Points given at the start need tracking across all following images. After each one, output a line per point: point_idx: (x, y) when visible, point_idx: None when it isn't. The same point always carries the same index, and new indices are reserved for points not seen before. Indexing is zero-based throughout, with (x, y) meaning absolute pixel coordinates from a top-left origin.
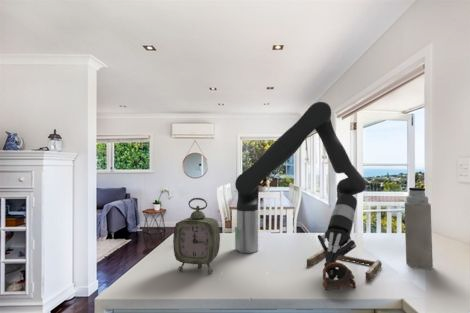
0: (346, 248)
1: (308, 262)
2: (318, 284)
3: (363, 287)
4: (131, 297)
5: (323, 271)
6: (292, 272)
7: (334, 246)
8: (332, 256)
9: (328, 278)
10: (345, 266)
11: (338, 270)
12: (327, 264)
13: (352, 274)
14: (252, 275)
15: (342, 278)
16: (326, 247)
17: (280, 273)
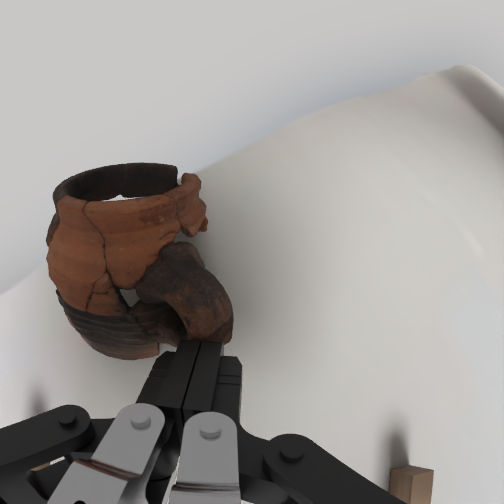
0: (3, 429)
1: (412, 470)
2: (242, 261)
3: (50, 348)
4: (459, 66)
5: (195, 179)
6: (421, 321)
7: (137, 472)
8: (167, 375)
9: (163, 164)
10: (60, 198)
11: (128, 308)
12: (191, 264)
13: (48, 230)
14: (475, 196)
15: (97, 169)
16: (264, 459)
17: (445, 271)
